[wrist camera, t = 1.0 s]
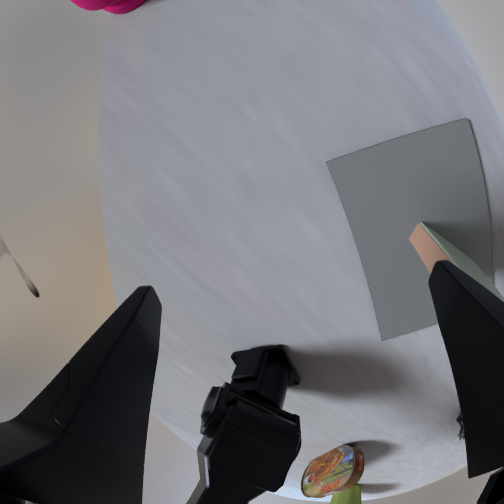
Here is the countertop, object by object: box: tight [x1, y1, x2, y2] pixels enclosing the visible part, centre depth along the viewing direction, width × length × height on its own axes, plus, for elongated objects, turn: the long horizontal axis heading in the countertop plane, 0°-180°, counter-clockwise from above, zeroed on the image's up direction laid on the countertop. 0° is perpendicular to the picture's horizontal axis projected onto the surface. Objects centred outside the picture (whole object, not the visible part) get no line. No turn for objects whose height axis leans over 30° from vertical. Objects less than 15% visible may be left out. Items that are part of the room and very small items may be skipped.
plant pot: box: [330, 484, 362, 504], centre depth 40 cm, size 9×9×9 cm
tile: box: [409, 222, 504, 302], centre depth 16 cm, size 2×7×9 cm, turn 68°
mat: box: [326, 118, 493, 341], centre depth 20 cm, size 18×13×1 cm
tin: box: [301, 445, 364, 498], centre depth 34 cm, size 15×3×8 cm, turn 155°
